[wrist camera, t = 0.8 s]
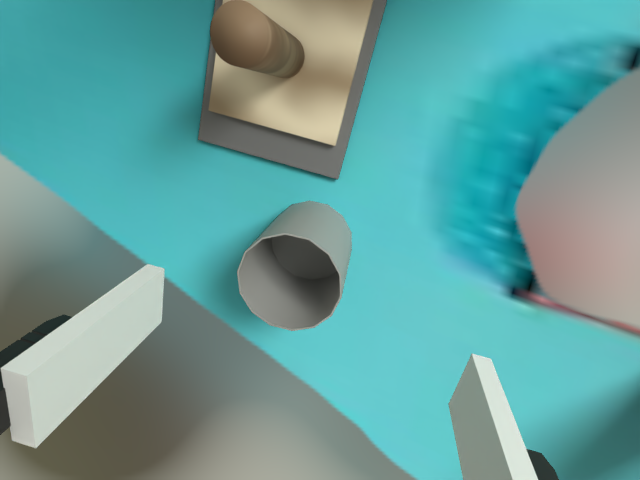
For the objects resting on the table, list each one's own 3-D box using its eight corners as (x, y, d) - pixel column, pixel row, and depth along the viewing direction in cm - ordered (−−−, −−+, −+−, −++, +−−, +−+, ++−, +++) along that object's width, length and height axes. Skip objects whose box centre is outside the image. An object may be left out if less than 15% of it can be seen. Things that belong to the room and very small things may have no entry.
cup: (266, 266, 40) (232, 315, 31) (277, 193, 37) (242, 223, 28) (343, 285, 40) (331, 340, 31) (360, 212, 37) (352, 248, 28)
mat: (229, -85, 30) (226, -89, 30) (398, -44, 29) (399, -46, 29) (200, 138, 37) (198, 139, 36) (338, 178, 36) (337, 179, 35)
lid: (232, -41, 31) (148, -121, 20) (374, -5, 30) (370, -67, 19) (212, 110, 35) (134, 113, 24) (335, 144, 34) (313, 164, 23)
